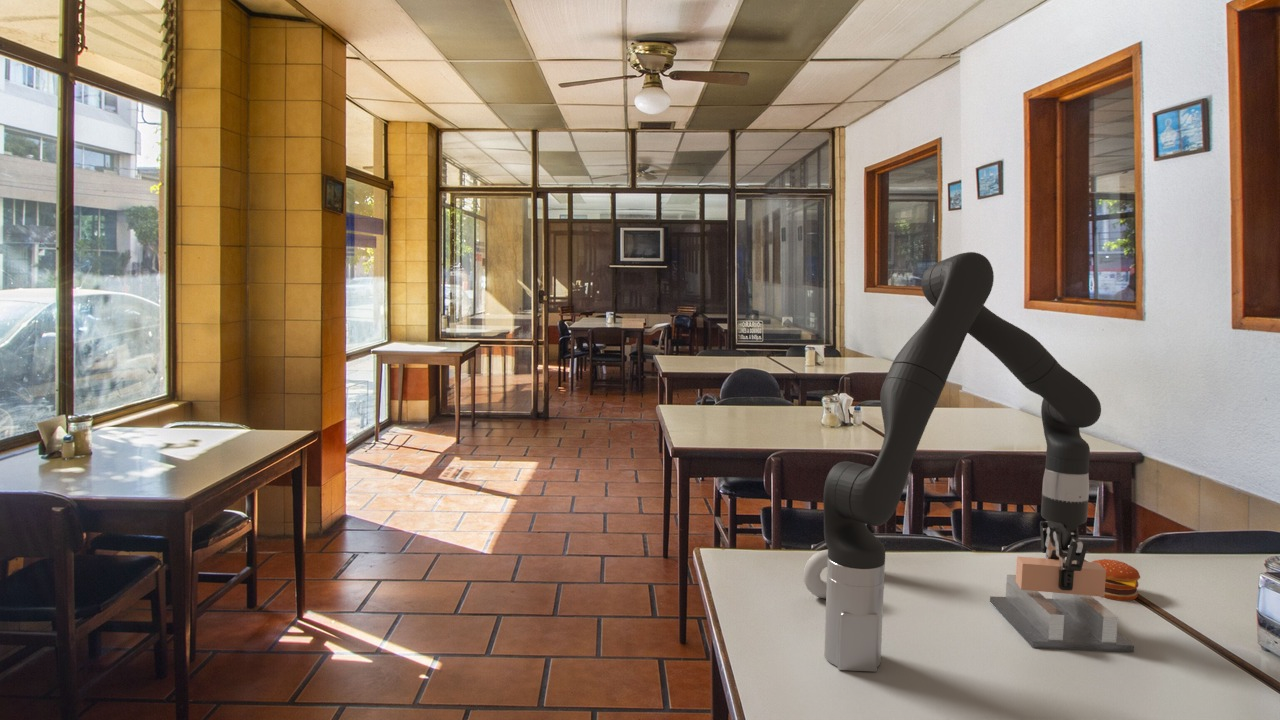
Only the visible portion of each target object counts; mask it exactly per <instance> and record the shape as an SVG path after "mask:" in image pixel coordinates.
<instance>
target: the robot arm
mask: <svg viewBox="0 0 1280 720" xmlns="http://www.w3.org/2000/svg"><path fill="white" fill-rule="evenodd" d="M921 277H922V278H921V290H922V292H923V295H924V297H925V299H926V300H927V302H929V304H930V305H931V306H933V308H932V311H931V313H930V314H929V316H928V318H927V319H926V320H925V321H924V323H922V325H921V326H920V327H919V328H918V329H917V330H916V331H915V333H914V334H913V335H912V336H911V337H910V338H909V339H908V341H907V342H906V343H905V344H904V345H903V346H902V348H901V349H900V351H899V352H898V353H897V354H896V356H895V358H894V360H893V361H892V363H891V366H890V367H889V370H888V371H887V374H886V376H885V379H884V381H883V383H882V386H881V390H880V393H879V395H880V396H879V397H880V398H879V399H880V400H879V401H880V409H881V416H882V421H883V428H884V436H883V442H882V445H881V449H880V451H879V454H878V456H877V458H876V461H875V463H874V464H873V466H869V465H867V464H862V463H857V462H853V461H848V460H846V461H845V460H844V461H841V462H838V463H836V464H834V465H833V466H832V468H830V470H829V472H828V474H827V476H826V479H825V482H824V487H823V505H822V506H823V536H824V537H823V538H824V541H825V544H826V547H827V550H828V565H827V567H826V568H827V569H826V572H827V573H826V581H827V590H826V598H825V599H826V600H825V623H824V658H825V659H826V661H828V662H829V663H830V664H832V665H833V666H835V667H837V669H838V670H839V671H854V672H855V671H856V672H857V671H858V672H875V673H876V672H877V671H878V667H879V666H880V665H881V659H882V640H883V638H882V636H883V618H884V617H883V616H884V615H883V613H884V593H885V592H884V591H885V588H884V587H885V572H886V571H885V570H886V549H885V548H886V547H885V545H884V544H883V543H882V541H881V540H880V539H879V538H878V537H876V536H875V535H874V534H873V533H872V531H870V529H869V528H868V526H873V527H879V526H882V525H884V524H886V523H887V522H888V521H889V520H890V519H891V518H892V516H893V515H894V513H895V512H896V509H897V507H898V506H899V503H900V500H901V498H902V495H903V492H904V488H905V485H906V482H907V480H908V478H909V477H908V476H909V474H910V471H911V467H912V465H913V464H912V463H913V461H914V458H915V454H916V452H917V449H918V447H919V445H920V442H921V439H922V437H923V434H924V432H925V429H926V428H927V425H928V422H929V420H930V419H931V415H932V414H933V412H934V410H935V408H936V406H937V404H938V401H939V400H940V397H941V395H942V392H943V390H944V388H945V385H946V383H947V381H948V378H949V376H950V372H951V370H952V368H953V366H954V363H955V361H956V359H957V357H958V355H959V353H960V350H961V348H962V345H963V343H964V341H965V338H966V336H967V335H968V334H969V336H971V337H972V338H974V340H976V341H977V342H978V343H979V344H981V345H982V346H983V347H984V348H986V349H987V350H988V351H989V352H990V353H991V354H993V355H994V356H995V357H996V358H997V359H998V360H999V362H1001V363H1002V364H1003V365H1004V366H1005V367H1006V368H1007V369H1008V371H1009V372H1010V373H1012V375H1013V376H1014V377H1015V378H1016V379H1017V380H1018V381H1019V382H1020V383H1021V384H1022V386H1023V387H1025V388H1026V389H1027V390H1029V391H1030V392H1032V393H1034V394H1036V395H1038V396H1040V397H1041V398H1042V402H1041V406H1040V407H1041V410H1040V414H1041V422H1042V428H1043V434H1044V438H1045V443H1046V452H1045V466H1044V467H1045V468H1044V473H1043V477H1042V490H1041V504H1040V505H1041V507H1040V515H1041V517H1042V518H1043V519H1044V521H1043V520H1040V522H1039V530H1040V544H1041V545H1040V546H1041V547H1040V548H1041V552H1042V554H1045V559H1058V560H1059V562H1060V572H1059V588H1060V589H1061V590H1069V591H1070V590H1072V589H1073V577H1074V571H1081V570H1082V566H1083V562H1085V557H1086V552H1087V550H1088V543H1087V541H1082V540H1080V539H1079V537H1080V535H1079V526H1080V525H1083V524H1085V523H1087V521H1088V509H1089V496H1090V478H1089V474H1090V473H1089V468H1090V456H1091V455H1090V454H1091V452H1090V449H1091V448H1090V445H1089V443H1088V442H1087V441H1086V440H1084V439H1083V437H1082V436H1081V433H1080V429H1084V428H1089V427H1091V426H1093V425H1094V424H1096V423H1097V422H1098V420H1099V419H1100V417H1101V415H1102V405H1101V402H1100V399H1099V397H1098V396H1097V395H1096V393H1095V392H1094V391H1093V389H1091V388H1090V387H1089V386H1088V385H1086V383H1085V382H1083V381H1081V379H1079V378H1078V377H1076V376H1075V375H1074V374H1072V373H1071V372H1070V371H1069V370H1067V369H1066V368H1064V367H1063V366H1062V365H1061V364H1060V362H1058V361H1057V359H1056V358H1055V357H1054V356H1053V355H1052V354H1051V353H1050V352H1049V351H1048V350H1047V348H1045V346H1044V345H1043V344H1042V343H1041V341H1038V340H1037V338H1036V337H1034V336H1033V335H1031V334H1030V333H1028V332H1027V331H1025V330H1023V329H1022V328H1020V327H1019V326H1017V325H1014V324H1013V323H1011V322H1009V321H1007V320H1005V319H1004V318H1002V317H1001V316H998V315H997V314H995V313H994V312H993V311H991V310H990V309H989V308H988V307H986V306H985V303H986V302H987V300H988V298H989V296H990V295H991V292H992V289H993V286H994V279H995V278H994V277H995V276H994V269H993V266H992V264H991V262H990V260H989V259H988V258H987V257H986V256H985V255H983V254H981V253H979V252H975V251H968V252H963V253H962V252H961V253H958V254H955V255H953V256H950V257H948V258H945V259H943V260H940V261H938V262H936V263H933V264H932V265H930V266H929V267H928V268H926V270H925V271H924V273H923V275H922V276H921ZM866 524H867V525H868V526H866ZM1064 551H1065V552H1064ZM1065 560H1066V562H1065ZM1076 561H1077V563H1076Z"/></svg>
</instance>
